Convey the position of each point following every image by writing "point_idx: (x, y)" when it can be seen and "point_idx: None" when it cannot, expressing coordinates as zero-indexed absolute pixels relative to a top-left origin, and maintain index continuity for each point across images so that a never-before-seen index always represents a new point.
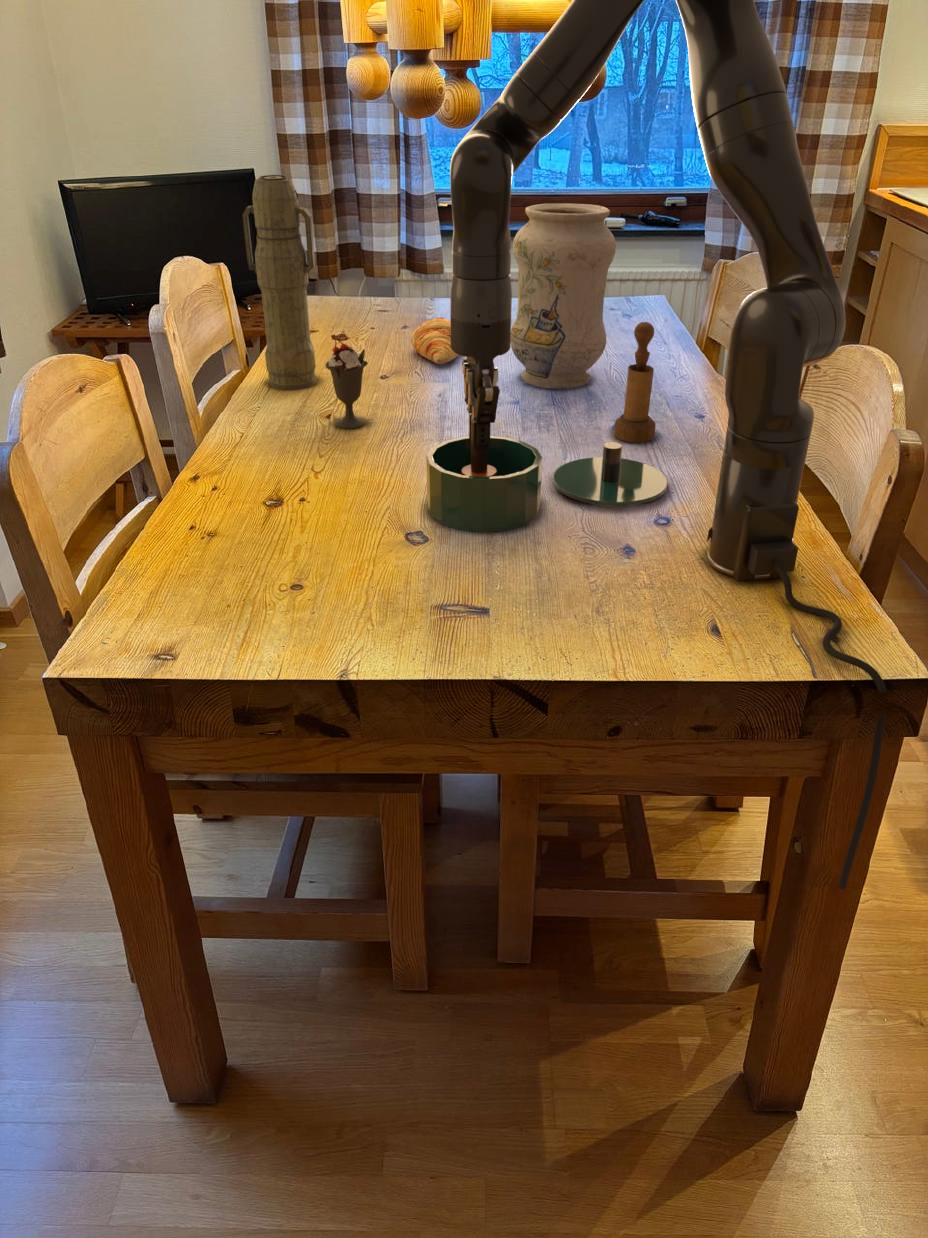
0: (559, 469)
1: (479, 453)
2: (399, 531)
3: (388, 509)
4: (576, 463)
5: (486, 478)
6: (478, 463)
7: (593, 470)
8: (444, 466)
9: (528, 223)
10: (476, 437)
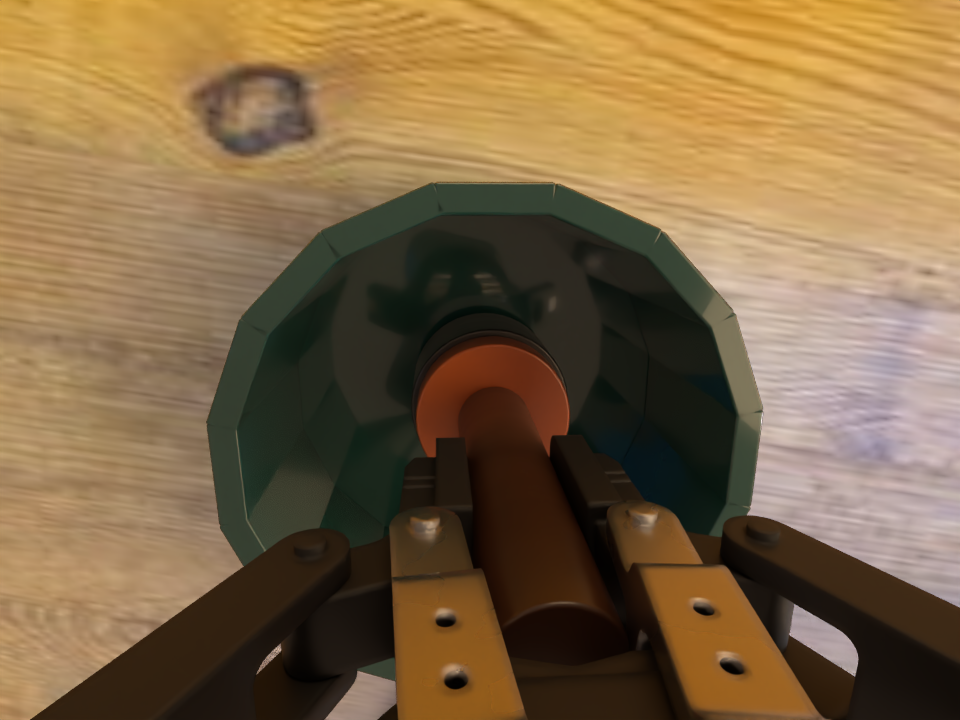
0: None
1: None
2: (319, 49)
3: (522, 29)
4: None
5: (216, 439)
6: (461, 429)
7: None
8: (641, 283)
9: None
10: (435, 479)
